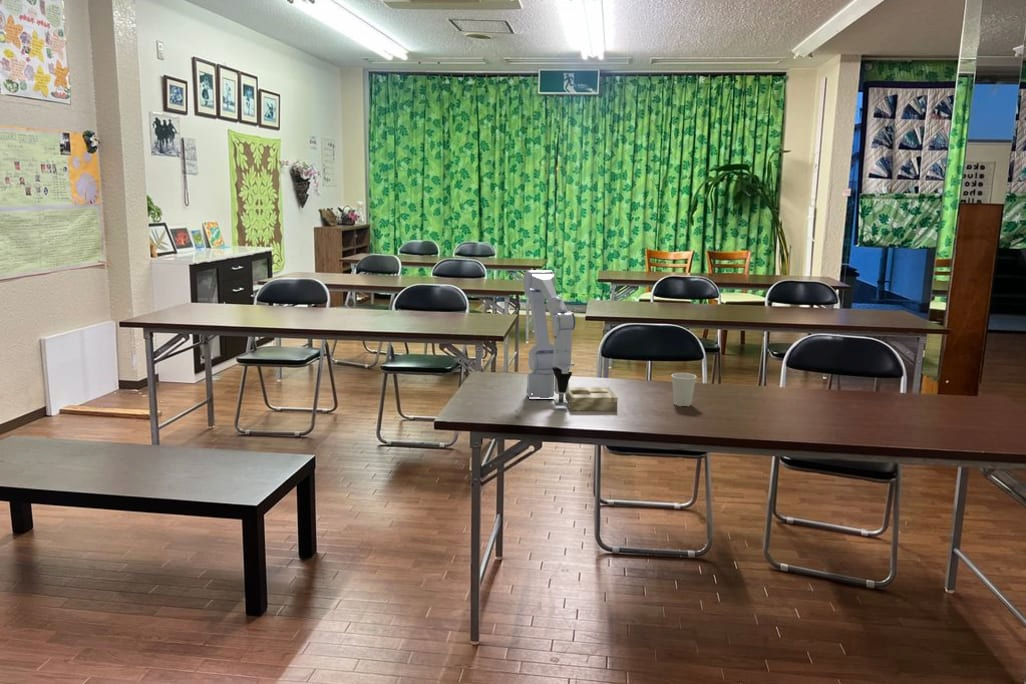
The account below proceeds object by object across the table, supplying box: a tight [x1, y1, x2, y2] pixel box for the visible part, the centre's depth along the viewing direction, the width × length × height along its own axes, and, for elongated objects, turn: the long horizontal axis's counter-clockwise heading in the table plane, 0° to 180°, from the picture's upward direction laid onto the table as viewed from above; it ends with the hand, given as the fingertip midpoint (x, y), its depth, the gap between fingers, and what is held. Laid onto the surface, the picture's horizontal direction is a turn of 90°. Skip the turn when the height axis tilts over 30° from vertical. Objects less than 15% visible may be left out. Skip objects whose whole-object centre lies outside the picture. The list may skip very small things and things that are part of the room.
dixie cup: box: [671, 372, 698, 407], centre depth 261 cm, size 8×8×10 cm
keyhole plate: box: [564, 386, 619, 412], centre depth 258 cm, size 15×14×4 cm
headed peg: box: [553, 376, 570, 407], centre depth 252 cm, size 4×4×9 cm
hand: (561, 390), depth 252 cm, fingers closed on headed peg, 4 cm apart
